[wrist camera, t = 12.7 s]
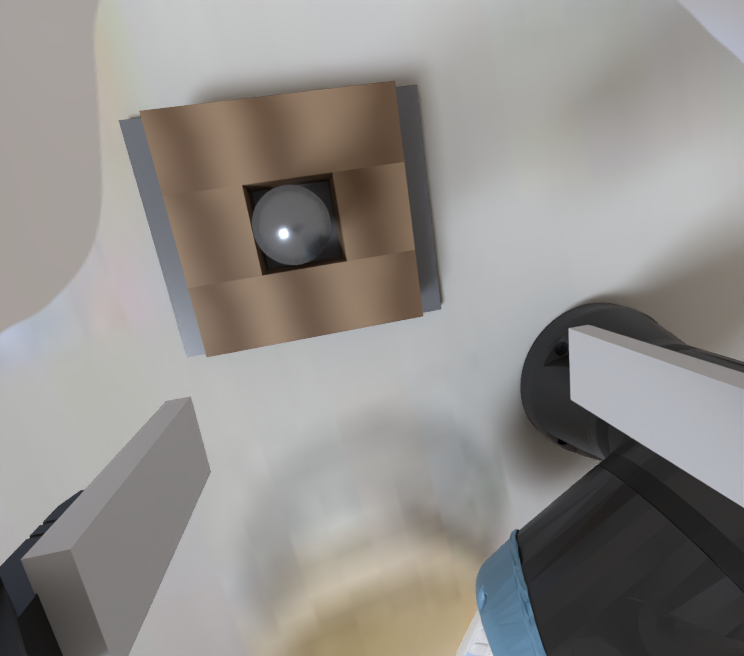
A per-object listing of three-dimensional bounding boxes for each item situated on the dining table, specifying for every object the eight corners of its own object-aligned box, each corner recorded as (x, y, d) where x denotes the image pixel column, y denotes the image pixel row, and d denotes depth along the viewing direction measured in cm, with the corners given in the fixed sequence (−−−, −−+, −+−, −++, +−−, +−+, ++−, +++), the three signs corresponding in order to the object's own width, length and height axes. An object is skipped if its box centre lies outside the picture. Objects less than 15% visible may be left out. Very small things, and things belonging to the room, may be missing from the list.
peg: (315, 195, 32) (323, 179, 20) (324, 246, 33) (337, 257, 22) (264, 203, 31) (243, 191, 20) (275, 254, 33) (262, 271, 21)
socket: (413, 89, 32) (436, 58, 26) (437, 307, 37) (462, 321, 31) (124, 124, 30) (81, 98, 24) (190, 353, 34) (167, 378, 29)
